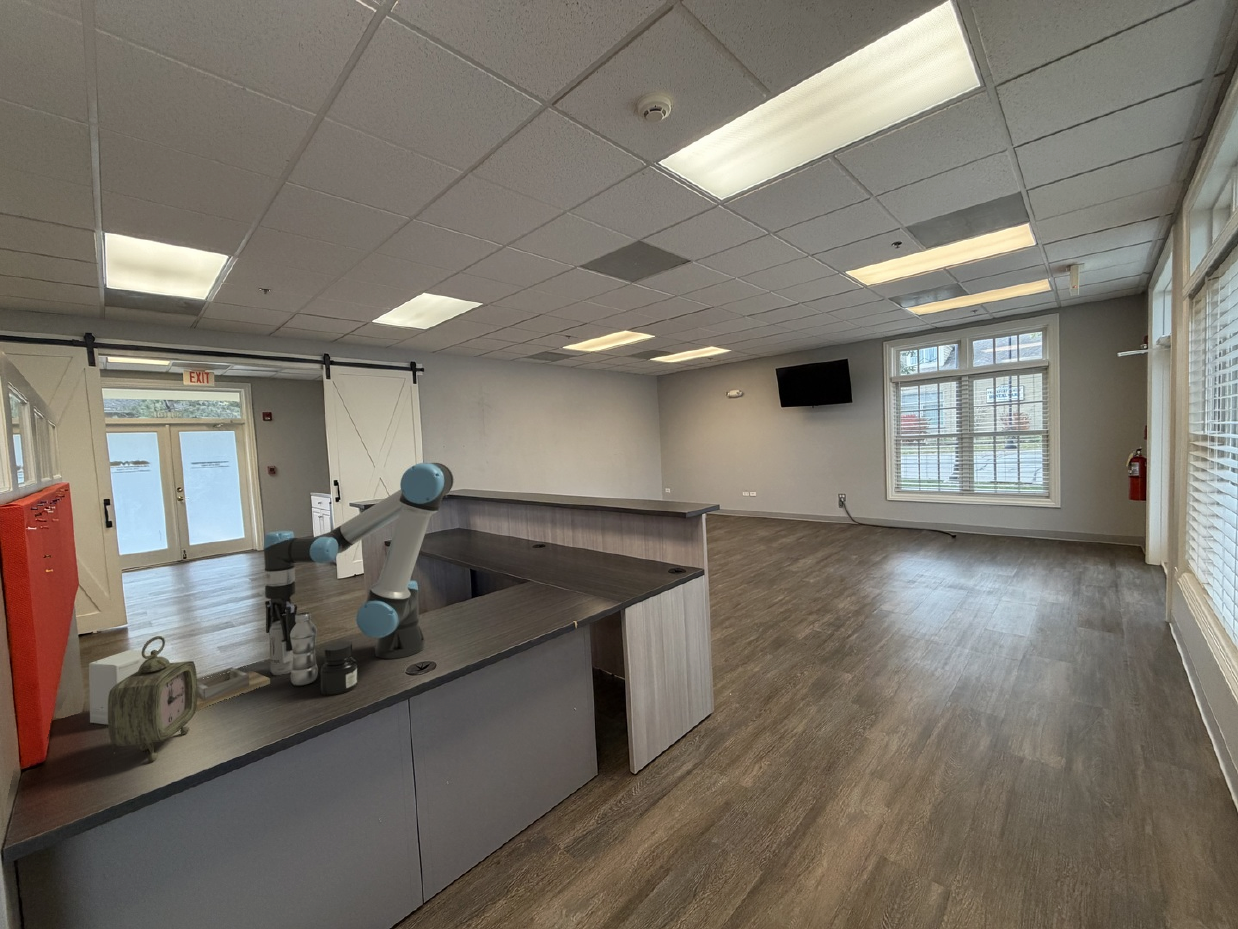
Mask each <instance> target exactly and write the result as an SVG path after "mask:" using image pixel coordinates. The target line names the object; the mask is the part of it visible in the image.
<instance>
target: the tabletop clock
mask: <svg viewBox="0 0 1238 929" xmlns="http://www.w3.org/2000/svg"><path fill="white" fill-rule="evenodd" d="M156 640H161V642H162V645H161V646H160V648H159V649H158V650H157V649H153V650H151V651H150V652H151V655H150V656H145V651H146V649H147V647H148V646H149V645H150V644H151V643H152V642H154V641H156ZM165 646H166V640H165V638H164V637H163V636H162V635H161V636H160V635H157V636H154V637H152V638H150V639H149V640H147V641H146V642H145V644H144V645H143V647H142V650H141V651H142V657H143V658H145V659H147V660H145V661H144V662H143V663H142V664H141V666H140V667H139V670H138V671H137V672H136V673H134V674H132V675H130V676H129V677H127V678H125V679H124V680H122V681H121V682H119V683H118V684H116V685H115V686H114V687H113V688H112V689H111V690H110V692H109V697H108V725H107V728H108V736H109V739H110V741H111V743H113V744H114V745H116V746H117V747H124V746H126V747H127V746H132V745H133V746H134V745H140V746H139V749H140V751H142V752H145V751H147V750H148V751H149V753H150V754H149V755H148V756H147V761H148V762H154V761H156V760H157V759H158V757H159V754H158V753H157V752H155V751H154V750H155V749H154V748H155V747H154V746H155V745H154V743H159V742H164V741H166V740H168V739H170V738H171V737H172V736H174V735H175V734H177V733H178V732H179V731H180V734H182V735H186V734H188V733H189V731H190V727H189V726H186V724H188V723H189V722H190V721H191V720H192V718H193V717H194V715H195V713H196V712H197V711H196V706H197V678H198V675H197V669H196V664H195V662H194V661H193V660H189V661H176V662H171V661H170V660H169V659H168V658H166V657H164V656H159V654H161V652H162V651H163V650H164V648H165Z"/></svg>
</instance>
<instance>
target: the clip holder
mask: <svg viewBox="0 0 1238 929" xmlns="http://www.w3.org/2000/svg"><path fill="white" fill-rule="evenodd" d="M234 669H236V670H234ZM231 670H234V671H231ZM228 671H230V672H229V673H227V672H228ZM223 673H225V674H223ZM220 674H221V675H220ZM211 676H212V677H211ZM207 677H209V678H207ZM203 678H204V679H203ZM270 684H271V678H270V677H267V676H265V675H262V674H260V673H258V672H255V671H252V670H249V671H246V672H245V671H242V670H239V669H237V668H235V667H232V666H231V667H229V668H226V669H223V670H219V671H217V672H213V673H210V674H207V675H204V676H201V677H197V706H196V711H195V712H197V711H200V710H203V709H206V708H208V707H210V706H209V705H211V706H213V705H212V704H214V703H216V702H219V701H221V700H224V699H227V700H229V698H230V699H232V698H231V697H233V696H235V697H237V696H236V695H238V696H240V695H239V694H241V693H244V694H246V693H249V692H252V691H254V689H255V690H256V688H257V689H259V687H260V688H263V687H264V686H265V687H266V686H267V685H270ZM241 695H242V694H241ZM233 698H234V697H233ZM219 703H220V702H219ZM216 704H217V703H216ZM214 705H215V704H214ZM207 706H208V707H207ZM205 707H206V708H205Z"/></svg>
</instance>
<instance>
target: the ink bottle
mask: <svg viewBox="0 0 1238 929" xmlns="http://www.w3.org/2000/svg"><path fill="white" fill-rule="evenodd" d="M323 650H324V651H323V652H324V664H323V665H322V666H321V668H320V691H321V693H322V694H324V695H327V696H331V695H333V696H334V695H340V694H343V693H347V692H349V691H351V690H353V689H354V688H356V687H357V684H358V664H357V660H356V659H354V658H353V642H351V641H346V640H344V641H337V642H333V643H329V644H327V645H325V646H324V648H323Z"/></svg>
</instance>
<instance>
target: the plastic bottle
mask: <svg viewBox="0 0 1238 929" xmlns="http://www.w3.org/2000/svg"><path fill="white" fill-rule="evenodd" d="M311 620H312V616H311V612H310V611H302V612H299V613H297V614H296V615H295V622H296V624H295V626H294V627H293V629H292V630H291V633H290V638H291V644H292V651H293V664H292V671H291V672H290V682H291V683H292V684H293V685H294V686H305V685H308V684H310V683H311V684H312V683H313V682H315V681H316V679H317V678H318V674H319V668H318V665H317V658H316V641H317V634H318V629H317V626H316V625H315V624H314V623H313V622H312V621H311Z"/></svg>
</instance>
